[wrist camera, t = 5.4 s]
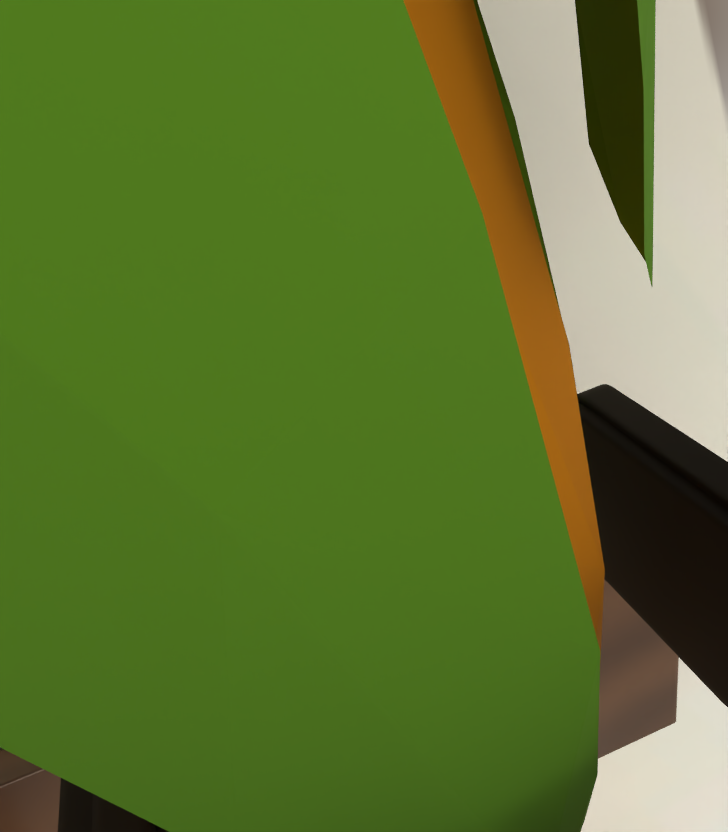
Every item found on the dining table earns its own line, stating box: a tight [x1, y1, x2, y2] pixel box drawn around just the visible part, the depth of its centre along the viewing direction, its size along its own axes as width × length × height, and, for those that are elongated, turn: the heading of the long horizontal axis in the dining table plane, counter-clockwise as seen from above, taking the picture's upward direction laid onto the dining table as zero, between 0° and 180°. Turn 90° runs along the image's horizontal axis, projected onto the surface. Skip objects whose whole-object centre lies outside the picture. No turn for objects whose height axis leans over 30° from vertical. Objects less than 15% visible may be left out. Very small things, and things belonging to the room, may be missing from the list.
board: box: [0, 579, 679, 832], centre depth 22 cm, size 11×23×1 cm, turn 102°
